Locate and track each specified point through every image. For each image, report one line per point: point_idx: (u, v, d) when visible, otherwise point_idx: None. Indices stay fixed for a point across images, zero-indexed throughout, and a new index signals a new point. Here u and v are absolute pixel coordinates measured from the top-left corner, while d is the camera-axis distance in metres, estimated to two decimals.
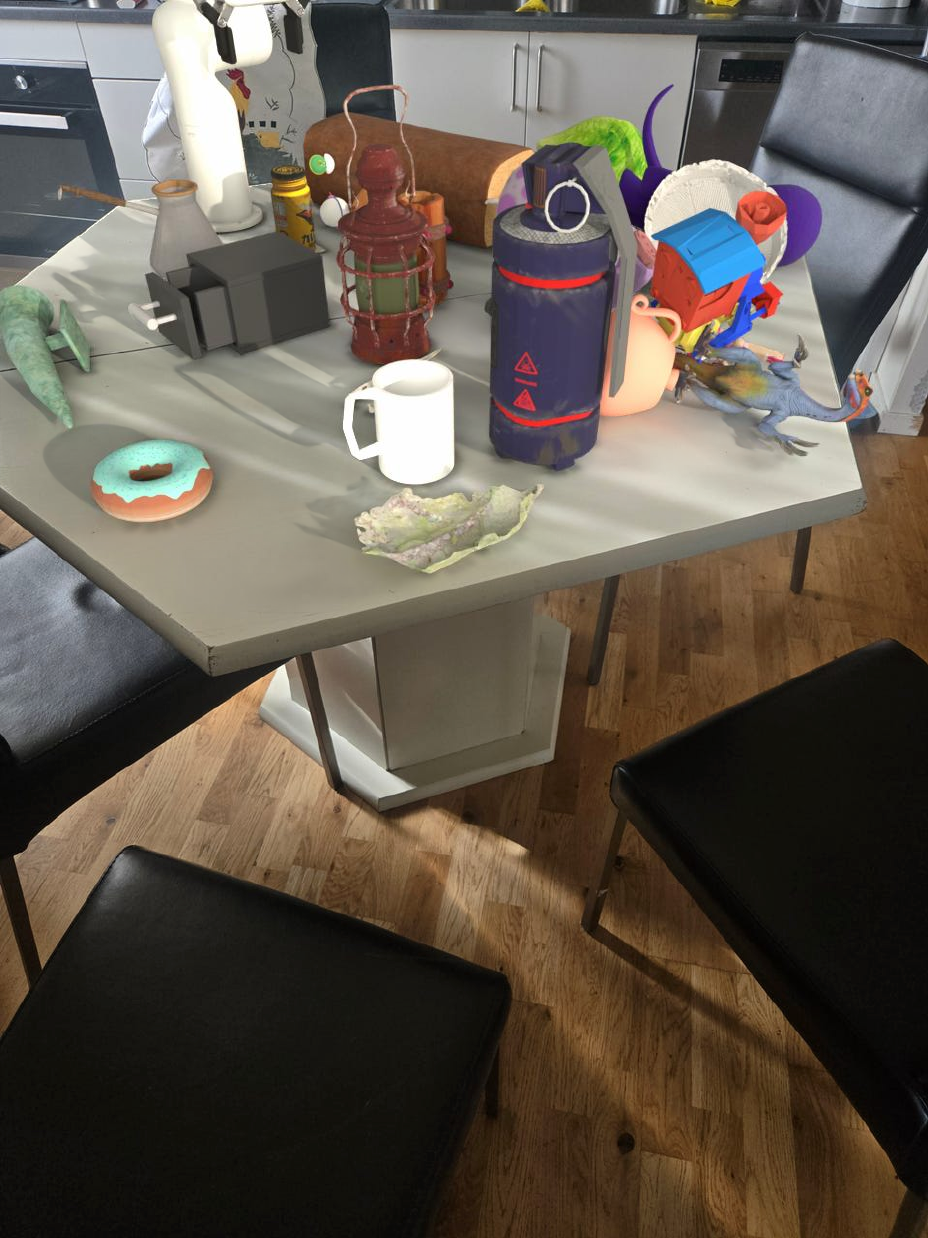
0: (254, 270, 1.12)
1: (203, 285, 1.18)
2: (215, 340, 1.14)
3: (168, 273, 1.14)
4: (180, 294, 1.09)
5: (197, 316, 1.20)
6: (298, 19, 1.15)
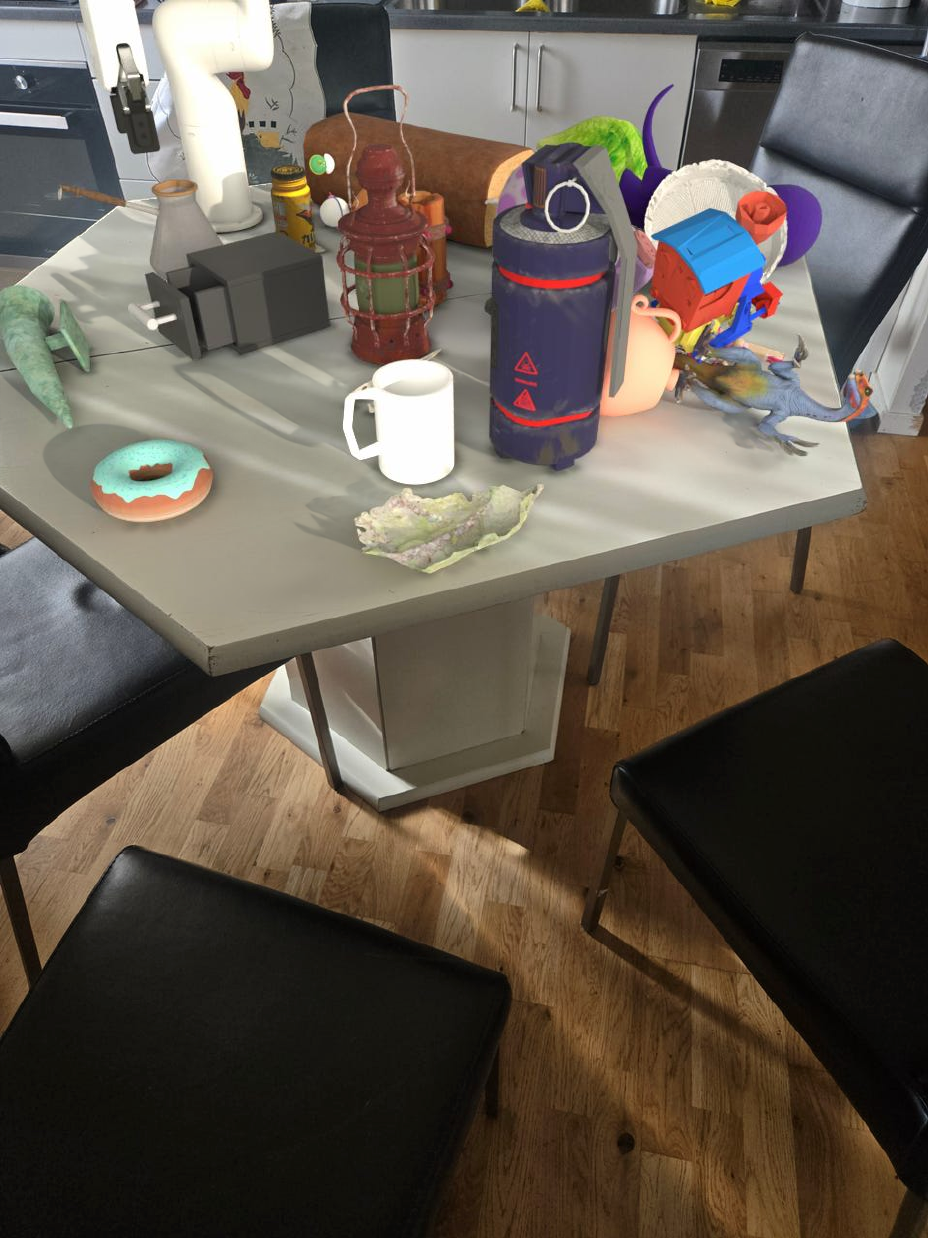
0: (254, 270, 1.12)
1: (203, 285, 1.18)
2: (215, 340, 1.14)
3: (168, 273, 1.14)
4: (180, 294, 1.09)
5: (197, 316, 1.20)
6: None
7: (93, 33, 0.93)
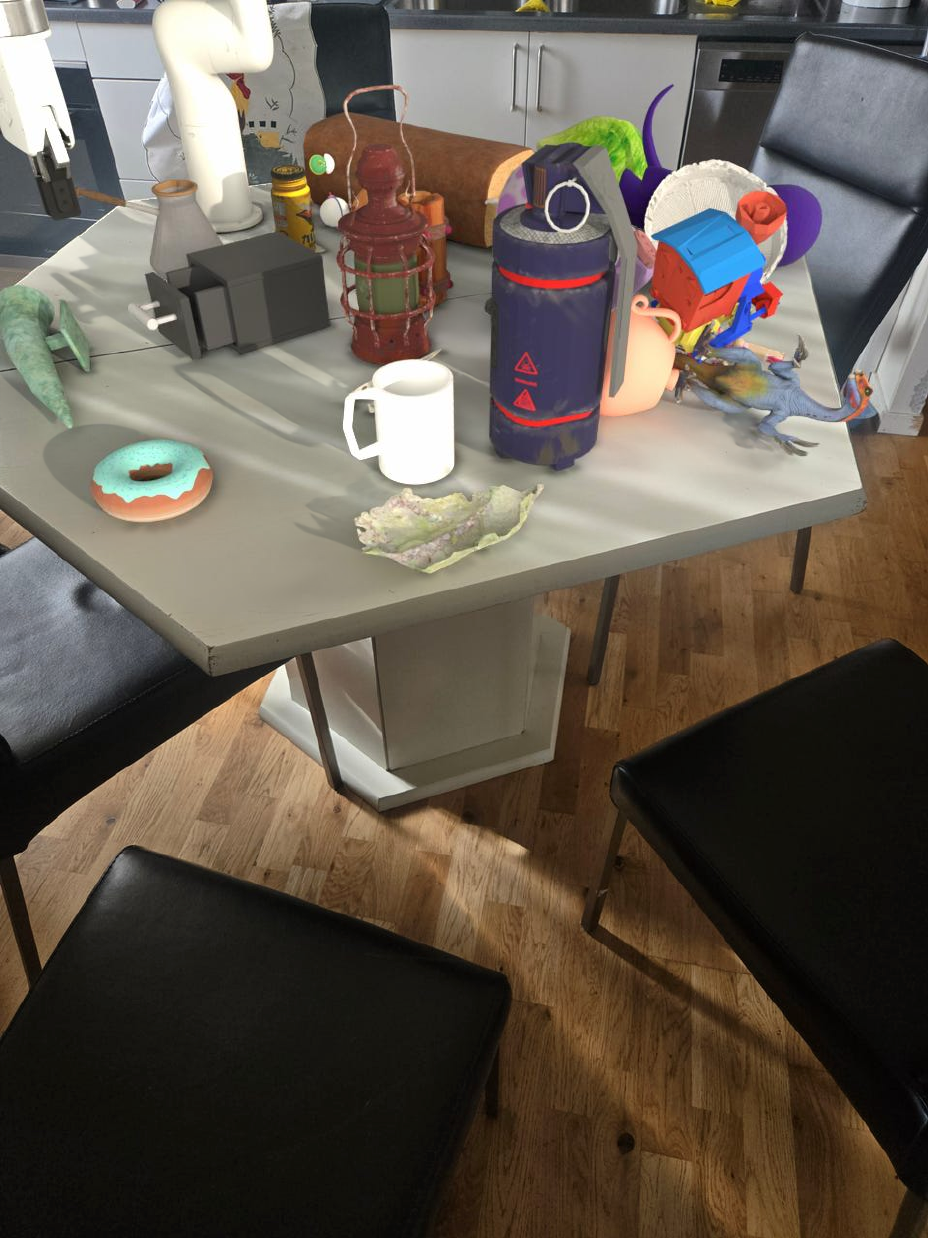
0: (254, 270, 1.12)
1: (203, 285, 1.18)
2: (215, 340, 1.14)
3: (168, 273, 1.14)
4: (180, 294, 1.09)
5: (197, 316, 1.20)
6: None
7: (14, 97, 0.87)
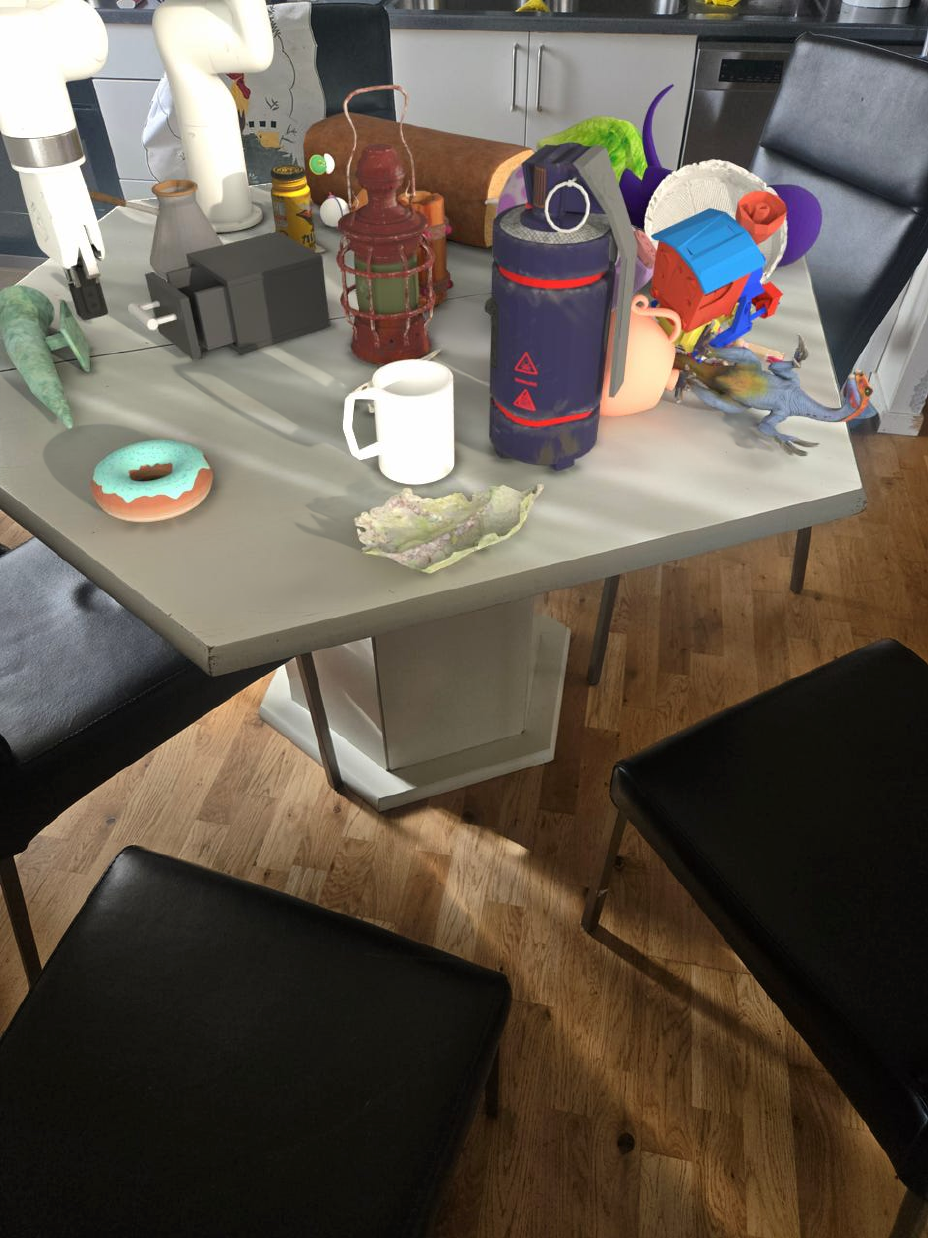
0: (254, 270, 1.12)
1: (203, 285, 1.18)
2: (215, 340, 1.14)
3: (168, 273, 1.14)
4: (180, 294, 1.09)
5: (197, 316, 1.20)
6: None
7: (51, 219, 0.95)
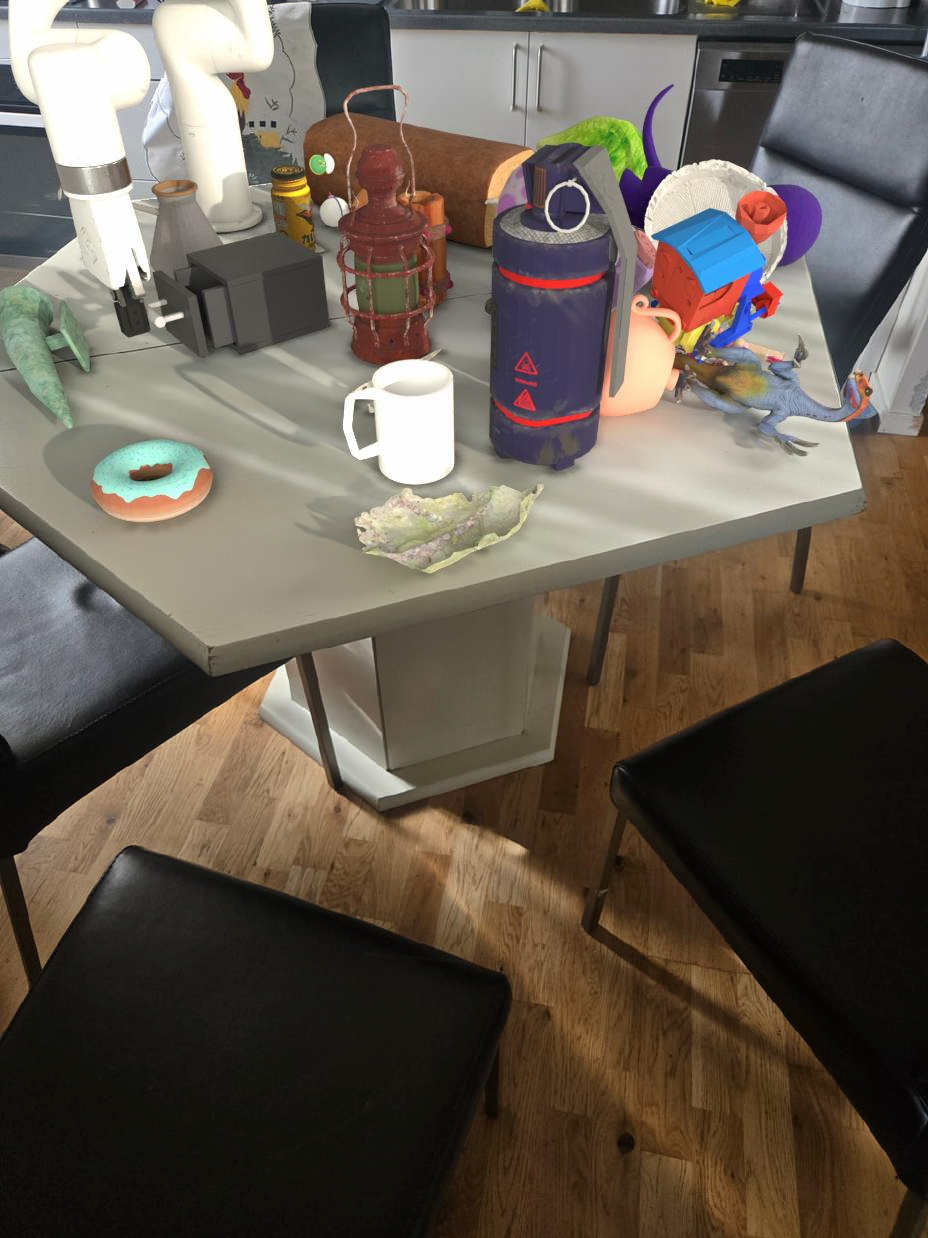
0: (254, 270, 1.12)
1: (210, 283, 1.18)
2: (222, 338, 1.15)
3: (175, 271, 1.15)
4: (187, 291, 1.09)
5: (204, 314, 1.20)
6: None
7: (101, 243, 1.00)
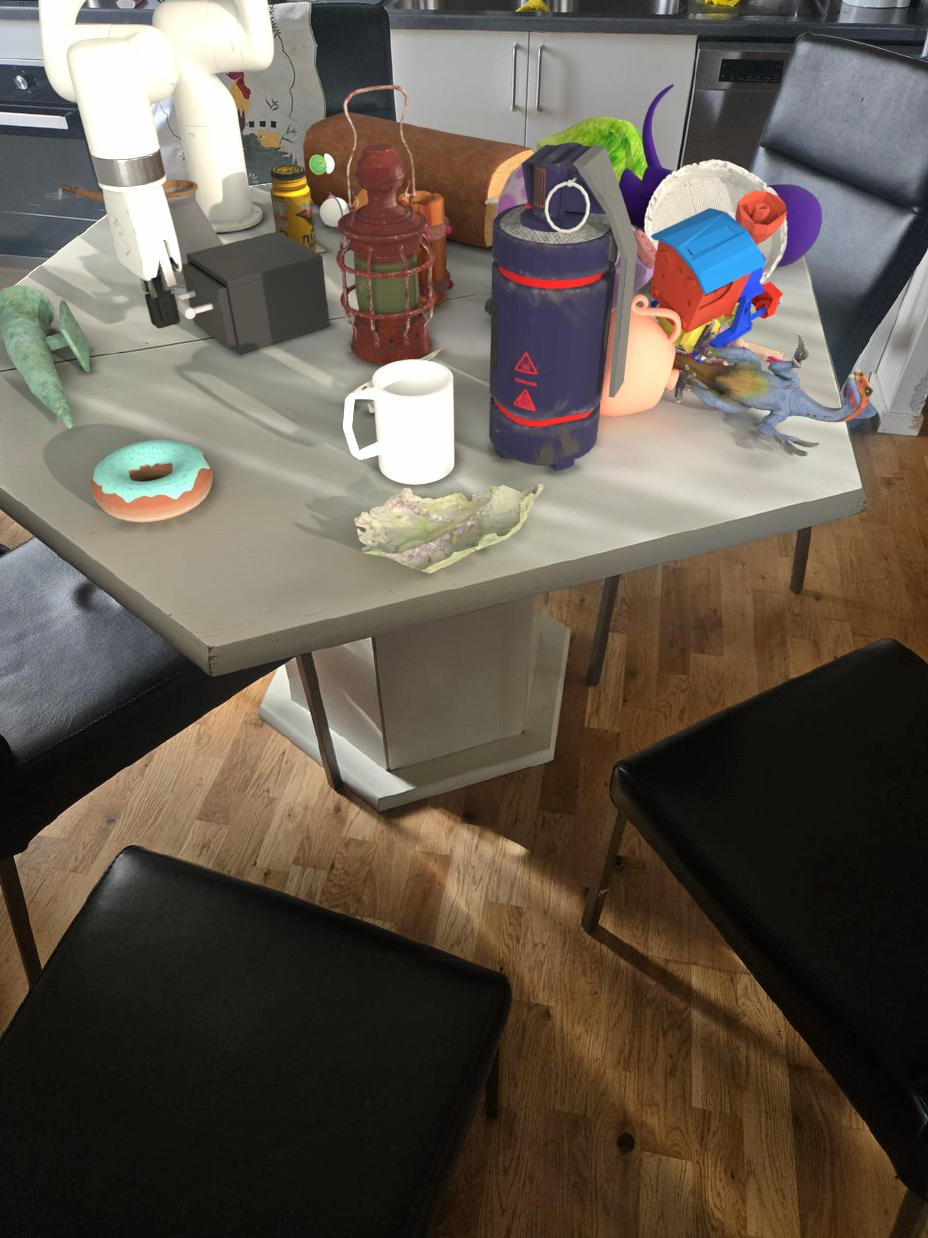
0: (254, 270, 1.12)
1: None
2: None
3: None
4: (217, 283, 1.11)
5: None
6: None
7: (135, 235, 1.02)
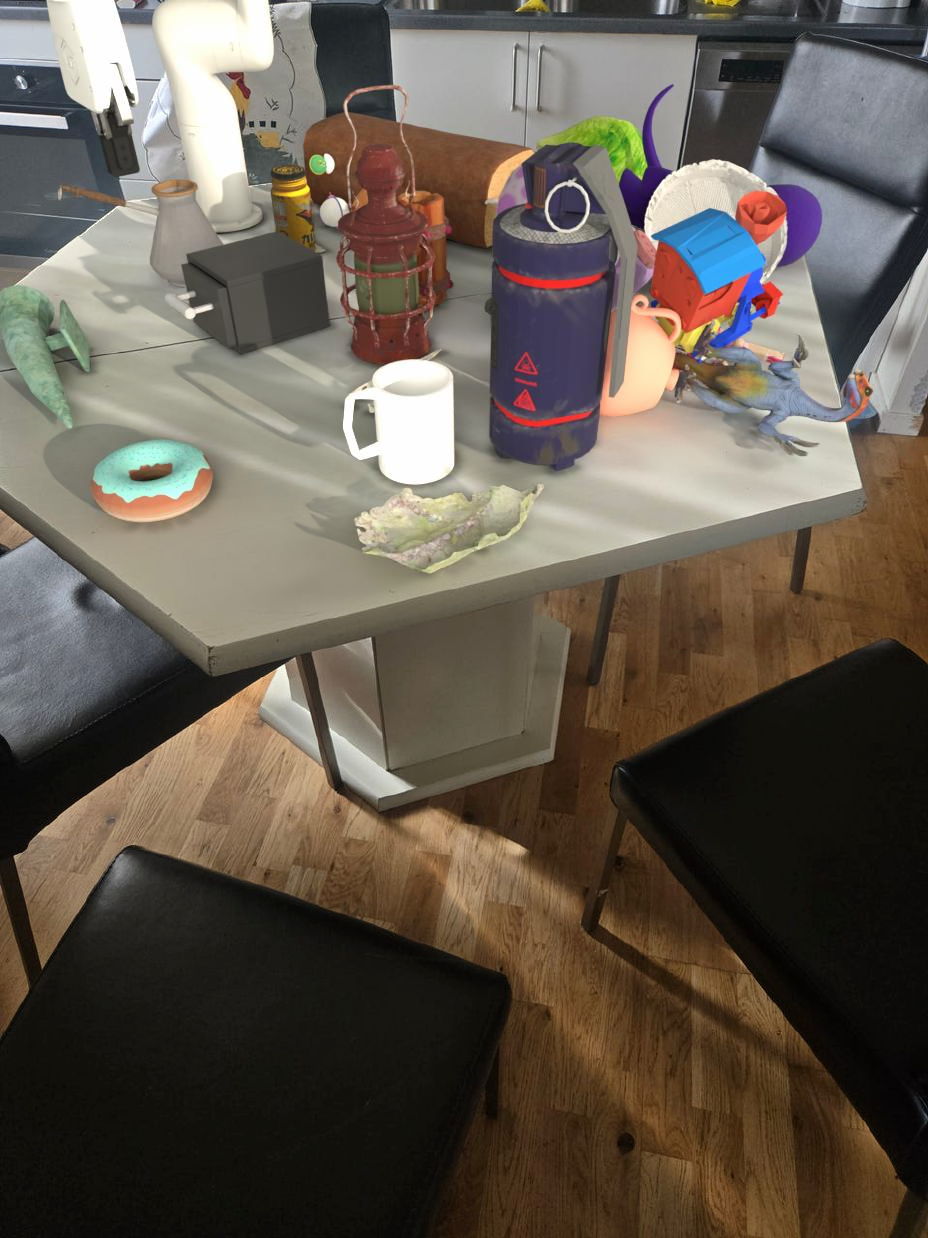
0: (254, 270, 1.12)
1: None
2: None
3: None
4: (217, 283, 1.11)
5: None
6: None
7: (83, 54, 0.90)
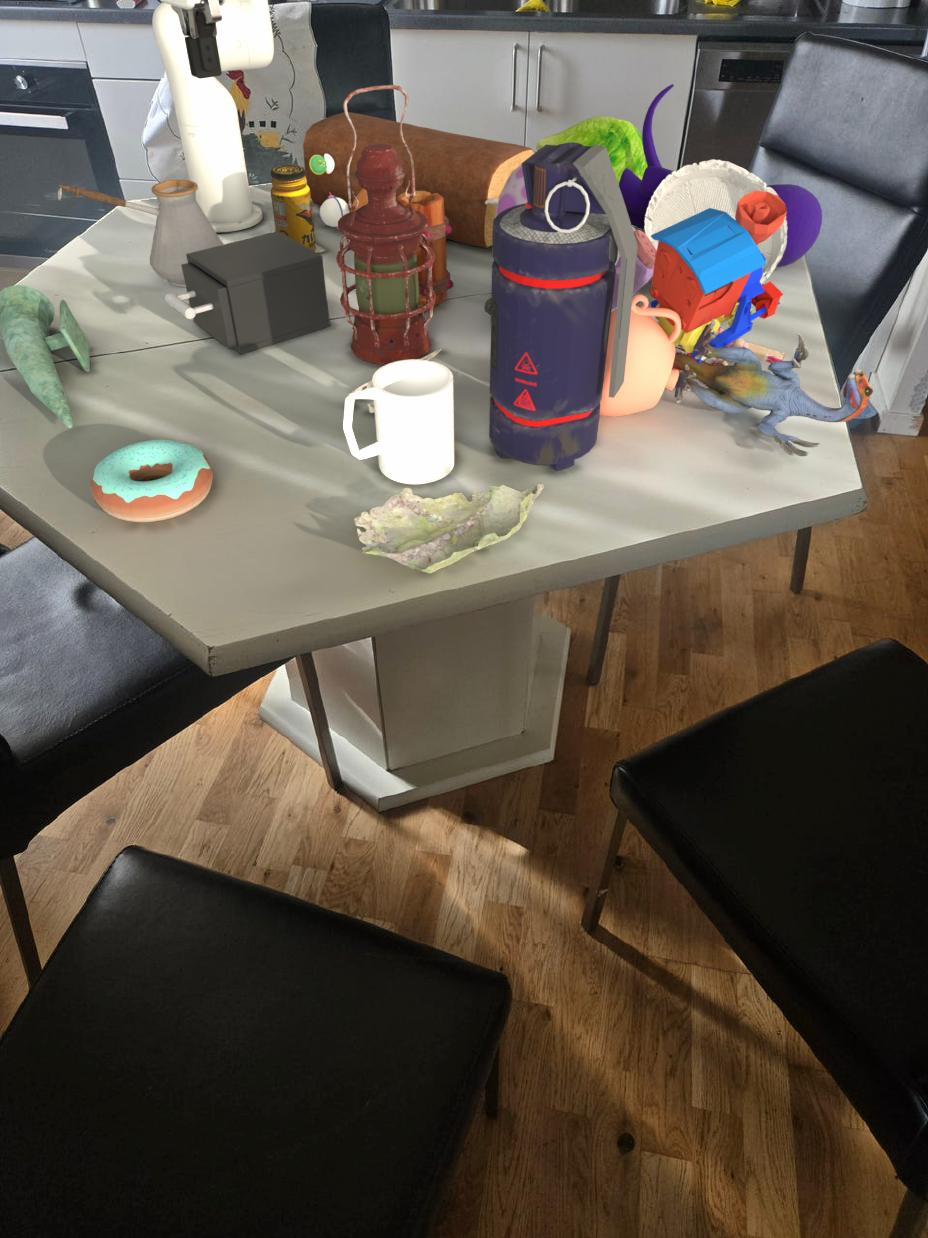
0: (254, 270, 1.12)
1: None
2: None
3: None
4: (217, 283, 1.11)
5: None
6: None
7: None
